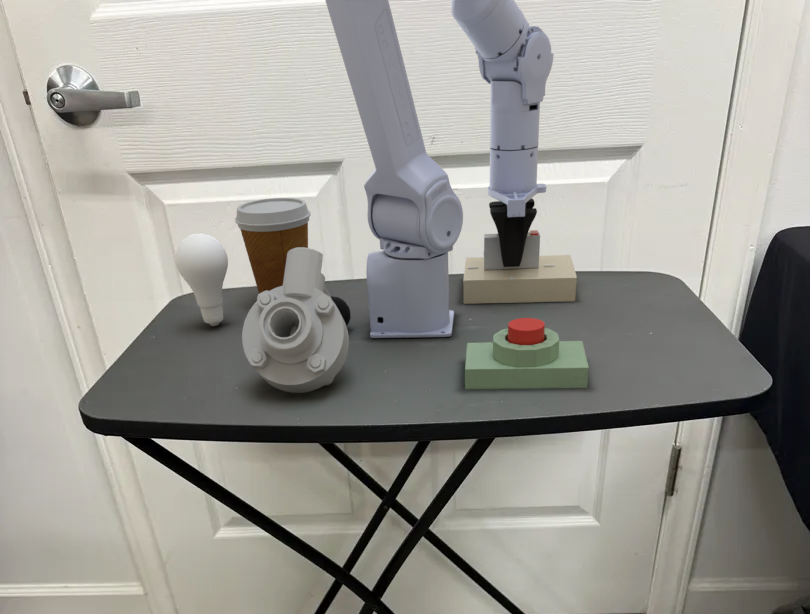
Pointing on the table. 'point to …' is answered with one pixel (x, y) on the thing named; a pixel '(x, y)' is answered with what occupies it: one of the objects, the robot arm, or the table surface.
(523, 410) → the table surface
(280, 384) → the centrifugal pump
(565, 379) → the button box
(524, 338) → the button
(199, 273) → the lightbulb
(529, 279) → the tan base
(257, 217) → the disposable coffee cup
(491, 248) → the red-topped grey block
